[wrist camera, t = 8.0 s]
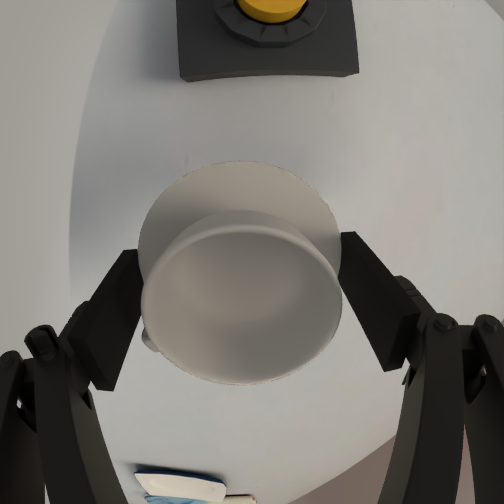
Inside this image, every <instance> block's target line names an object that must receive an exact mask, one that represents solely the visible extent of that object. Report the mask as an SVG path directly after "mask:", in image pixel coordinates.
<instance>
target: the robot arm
mask: <svg viewBox="0 0 504 504" xmlns="http://www.w3.org/2000/svg"><path fill="white" fill-rule="evenodd" d="M340 239H341V263H340V269H339V273H338V277H337V279H338V281H339V284H340V286H341V288H342V290H343V292H344V294H345V295H346V297H347V299H348V301H349V303H350V305H351V307H352V309H353V311H354V312H355V314H356V316H357V318H358V320H359V322H360V324H361V326H362V328H363V330H364V332H365V334H366V336H367V338H368V340H369V342H370V344H371V346H372V348H373V350H374V352H375V354H376V356H377V358H378V360H379V362H380V364H381V367H382V369H383V371H384V372H387V371H391V370H395V369H399V368H402V366H403V363H404V360H405V358H407V360H408V362H409V363H410V366H409V368H408V371H407V373H406V375H405V378H404V380H403V382H402V385H404V384H405V382H406V384H405V391H404V397H403V403H402V409H401V415H400V420H399V425H398V430H397V434H396V439H395V443H394V447H393V452H392V456H391V460H390V463H389V467H388V471H387V474H386V477H385V481H384V484H383V487H382V491H381V494H380V497H379V500H378V503H377V504H455V500H456V495H457V489H458V482H459V476H460V468H461V460H462V449H463V434H464V433H463V432H464V424H465V429H466V434H467V439H468V445H469V451H470V458H471V464H472V472H473V481H474V492H475V504H504V327H503V325H502V324H501V322H500V321H499V320H498V319H496V318H495V317H494V316H491V315H486V314H483V315H479V316H478V317H477V318H476V320H475V322H474V325H458V323H457V322H456V320H455V319H454V318H452V317H451V316H449V315H446V314H443V313H436V311H435V310H434V309H433V308H432V306H431V305H430V304H429V303H428V301H427V300H426V299H425V298H424V297H423V295H421V293H420V292H419V291H418V290H416V287H415V286H414V285H413V284H412V283H411V281H409V280H408V279H406V278H404V277H403V276H393V275H392V274H391V272H390V271H389V270H388V269H387V268H386V266H385V265H384V264H383V263H382V262H381V261H380V259H379V258H378V257H377V256H376V255H375V254H374V252H373V251H372V250H371V249H370V248H369V247H368V246H367V244H366V243H365V242H364V241H363V240H362V239H361V238H360V236H359V235H358V234H357V233H356V232H355V231H354V232H341V238H340ZM143 286H144V282H143V278H142V274H141V271H140V267H139V261H138V251H137V249H131V250H123V252H122V253H121V254H120V256H119V257H118V259H117V260H116V262H115V263H114V264H113V266H112V267H111V269H110V270H109V272H108V273H107V275H106V276H105V277H104V279H103V280H102V282H101V283H100V285H99V286H98V288H97V289H96V291H95V293H94V294H93V296H92V297H91V299H90V300H89V301H84V302H83V303H82V304H81V305H79V306H78V307H77V308H76V310H75V311H74V313H73V314H72V317H71V318H70V319H69V321H68V323H67V324H66V325H65V327H64V329H63V330H62V332H61V333H60V335H59V337H57V335H56V333H55V331H54V329H53V328H52V326H50V325H41V326H38V327H36V328H34V329H32V330H31V331H30V332H29V333H28V334H27V335H26V337H25V340H24V342H25V343H26V345H27V347H28V349H29V350H30V352H31V354H32V355H33V357H34V358H29V359H24V360H23V359H22V357H21V356H20V354H19V353H18V352H17V351H13V350H12V351H8V352H5V353H4V354H3V355H2V356H1V357H0V504H45V485H46V489H47V494H48V498H49V502H50V504H128V502H127V499H126V497H125V495H124V493H123V490H122V488H121V485H120V483H119V480H118V478H117V475H116V473H115V470H114V467H113V465H112V462H111V459H110V456H109V453H108V450H107V447H106V444H105V441H104V438H103V434H102V431H101V428H100V424H99V421H98V417H97V413H96V410H95V406H94V402H93V398H92V394H91V392H90V390H89V389H88V386H89V384H90V381H92V383H93V384H94V386H95V388H96V389H97V390H103V391H114V388H115V385H116V382H117V379H118V376H119V373H120V371H121V368H122V365H123V362H124V359H125V356H126V354H127V351H128V348H129V345H130V343H131V340H132V337H133V335H134V332H135V329H136V327H137V324H138V322H139V319H140V316H141V296H142V290H143ZM484 367H485V369H486V374H485V373H484V370H483V369H484ZM17 400H19V401H20V402H21V403H22V404H21V408H18V406H17Z"/></svg>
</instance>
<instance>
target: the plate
mask: <svg viewBox="0 0 504 504" xmlns="http://www.w3.org/2000/svg"><path fill="white" fill-rule="evenodd" d="M134 474H135V476H136V478H137V480H138V481H139V483H140V484H141V485H142V486H143V488H144V489H145V490H146V491H147V492H148V494H149V495H155V496H167V497H178V498H188V499H198V500H205V501H213V502H222V501H223V499H224V497H225V495H226V491H227V490H226V485H225V484H224V482H222V481H221V480H220V479H215V478H210V477H205V476H200V475H195V474H188V473H182V472H171V471H145V470H138V471H136V472H134Z"/></svg>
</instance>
